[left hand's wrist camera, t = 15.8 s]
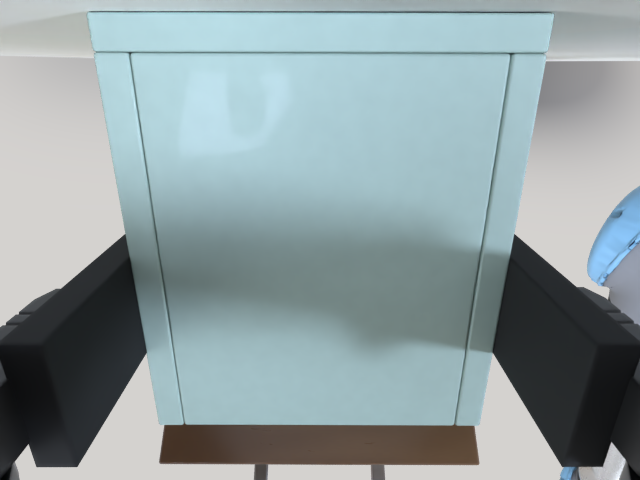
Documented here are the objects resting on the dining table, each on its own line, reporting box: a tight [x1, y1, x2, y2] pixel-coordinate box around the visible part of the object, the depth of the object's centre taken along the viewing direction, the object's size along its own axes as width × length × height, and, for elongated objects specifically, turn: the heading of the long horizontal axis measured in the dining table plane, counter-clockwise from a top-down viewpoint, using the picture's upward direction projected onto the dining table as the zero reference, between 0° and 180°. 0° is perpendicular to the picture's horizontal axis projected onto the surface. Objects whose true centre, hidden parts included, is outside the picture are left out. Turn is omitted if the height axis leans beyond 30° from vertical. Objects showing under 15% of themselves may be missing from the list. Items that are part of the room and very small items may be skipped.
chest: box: [87, 12, 554, 426], centre depth 18 cm, size 17×9×10 cm, turn 0°
